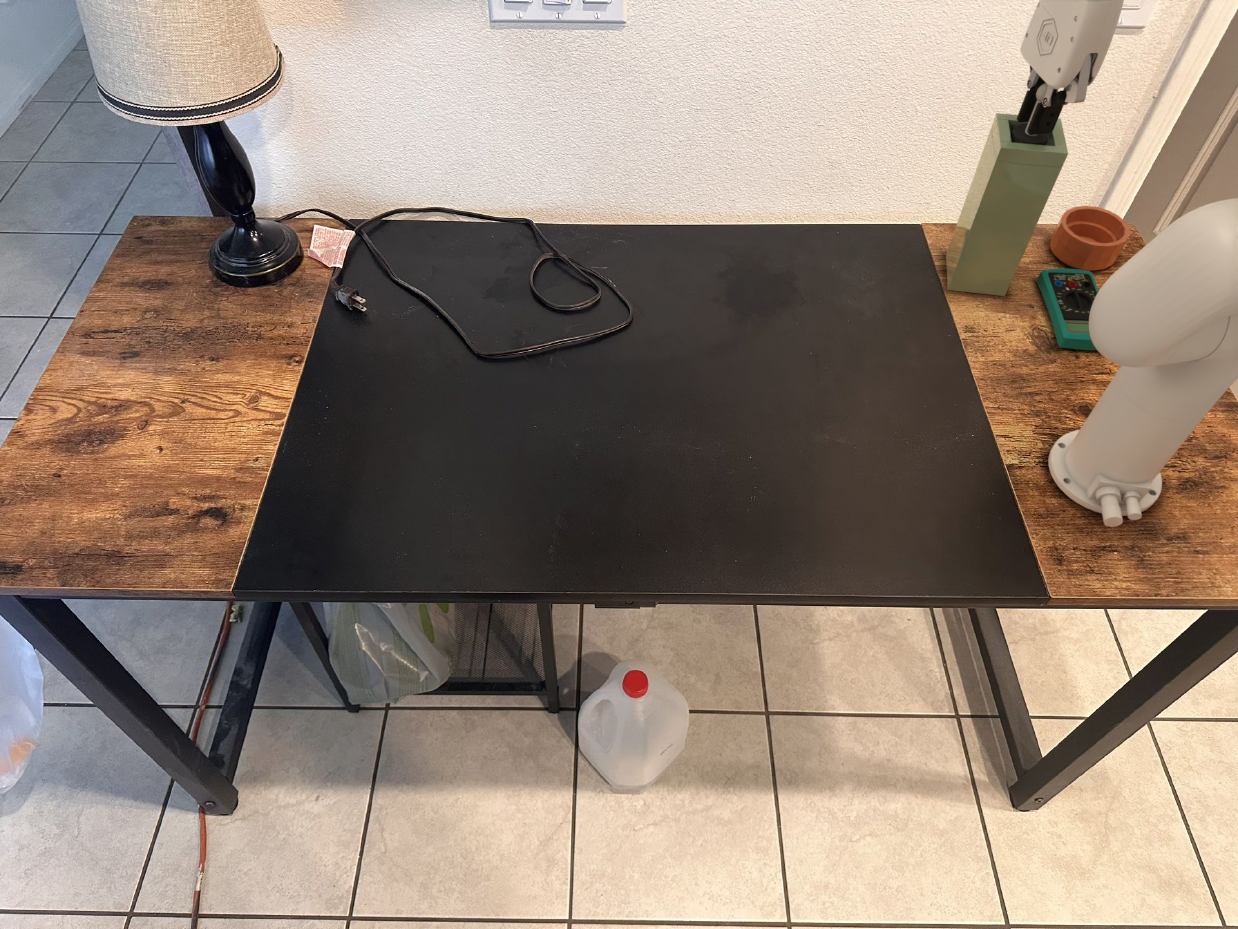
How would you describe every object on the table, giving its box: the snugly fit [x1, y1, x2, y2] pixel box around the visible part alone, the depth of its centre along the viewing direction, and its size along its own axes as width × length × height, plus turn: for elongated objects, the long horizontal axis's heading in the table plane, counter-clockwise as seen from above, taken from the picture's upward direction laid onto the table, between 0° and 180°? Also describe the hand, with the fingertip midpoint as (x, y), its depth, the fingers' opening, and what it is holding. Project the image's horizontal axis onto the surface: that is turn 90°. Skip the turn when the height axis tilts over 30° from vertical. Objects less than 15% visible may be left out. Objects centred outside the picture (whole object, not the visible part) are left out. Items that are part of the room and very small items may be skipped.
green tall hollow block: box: [945, 112, 1069, 297], centre depth 117 cm, size 8×8×23 cm
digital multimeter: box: [1036, 267, 1099, 351], centre depth 120 cm, size 7×15×3 cm, turn 176°
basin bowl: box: [1049, 205, 1131, 272], centre depth 127 cm, size 9×10×5 cm
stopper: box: [1011, 83, 1059, 145], centre depth 106 cm, size 4×4×8 cm
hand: (1034, 125), depth 107 cm, fingers closed on stopper, 2 cm apart
